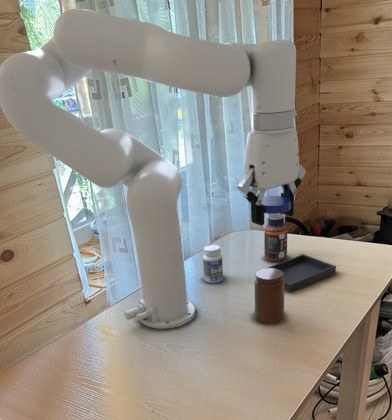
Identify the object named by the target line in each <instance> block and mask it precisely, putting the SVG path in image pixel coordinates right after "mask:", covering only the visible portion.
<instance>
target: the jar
mask: <svg viewBox="0 0 392 420" xmlns="http://www.w3.org/2000/svg"><path fill="white" fill-rule="evenodd" d="M265 268H266V269H265ZM265 268H261V269H259V270H257V271H256V272H255V277H254V279H253V280H254V281H253V282H254V284H253V286H254V319H255V321H256V322H258V323H260V324H263V325H276V324H278V323H281V322H283V320H284V318H285V291H286V290H285V278H284V273H283V272H282V271H281V270H279V269H275V268H268V267H265Z"/></svg>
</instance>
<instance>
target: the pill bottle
mask: <svg viewBox="0 0 392 420" xmlns="http://www.w3.org/2000/svg"><path fill="white" fill-rule="evenodd" d="M203 254H204V255H203V256H202V264H203V265H202V266H203V279H204V281H205V282H207V283H209V284H216V283H220V282H221V281H222V280H224V269H223V268H224V267H223V255H222V254H221V246H220V245H218V244H209V245H206V246H204V247H203Z"/></svg>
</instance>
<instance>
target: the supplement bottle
mask: <svg viewBox="0 0 392 420" xmlns="http://www.w3.org/2000/svg"><path fill="white" fill-rule="evenodd" d="M267 222H268V223H267V224H266V225H265V226H264V234H263V235H264V236H263V237H264V238H263V239H264V242H263V243H264V246H263V247H264V258H265V260H267V261H269V262H273V263H274V262H283V261H285V260H287V256H288V225H287V224H286V223H285V216H284V215H283V214H270V215H268V217H267Z"/></svg>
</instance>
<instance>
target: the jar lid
mask: <svg viewBox="0 0 392 420" xmlns="http://www.w3.org/2000/svg"><path fill="white" fill-rule="evenodd" d="M261 204H263V205H264V214H268V215H269V214H270V215H278V214H282V213H284V212H287V211H289V210H290V208H291V200H290V199H289V198H286V197H283V196H281V195H264V198H263V201H262V203H261Z"/></svg>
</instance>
